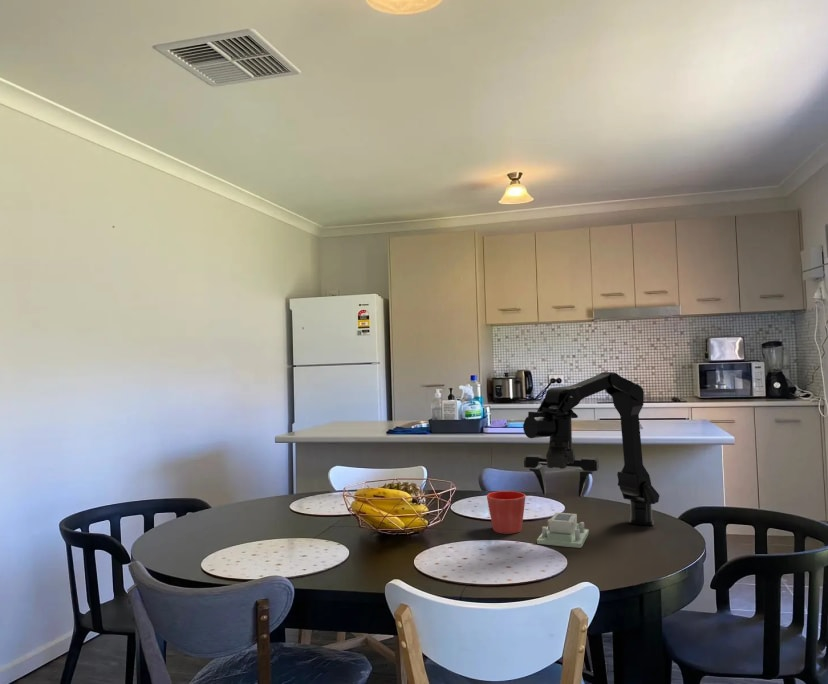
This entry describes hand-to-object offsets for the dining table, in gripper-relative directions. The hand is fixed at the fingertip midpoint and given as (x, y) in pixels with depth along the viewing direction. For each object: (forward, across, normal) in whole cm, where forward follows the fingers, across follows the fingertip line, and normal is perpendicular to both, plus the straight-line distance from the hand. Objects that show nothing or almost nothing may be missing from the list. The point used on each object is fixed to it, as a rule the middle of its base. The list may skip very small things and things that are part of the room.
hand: (561, 495), depth 163 cm
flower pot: (+12, -16, +3) cm, 20 cm away
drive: (+10, 0, 0) cm, 10 cm away
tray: (+11, 0, 0) cm, 11 cm away
